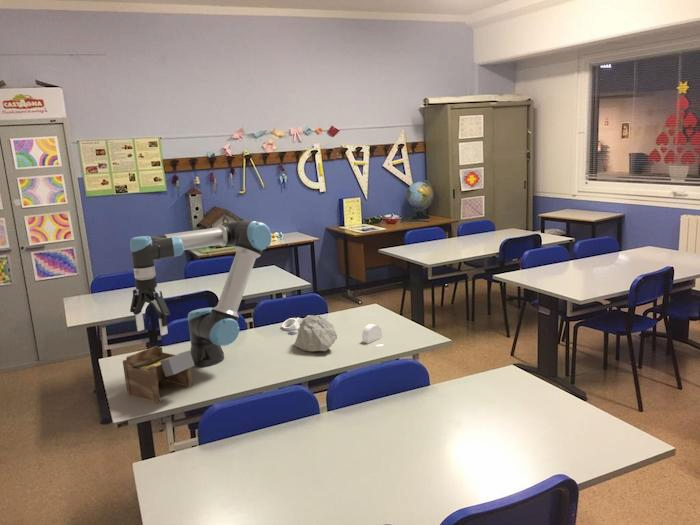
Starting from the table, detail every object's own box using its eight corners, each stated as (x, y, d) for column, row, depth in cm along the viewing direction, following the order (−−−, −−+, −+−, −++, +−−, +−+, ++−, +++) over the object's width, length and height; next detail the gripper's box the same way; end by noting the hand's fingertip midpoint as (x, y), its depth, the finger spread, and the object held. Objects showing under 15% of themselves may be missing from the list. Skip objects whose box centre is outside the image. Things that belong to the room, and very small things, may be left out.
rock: (291, 352, 284) (285, 347, 274) (284, 345, 286) (278, 339, 276) (306, 338, 285) (300, 332, 276) (298, 330, 287) (293, 324, 278)
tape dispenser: (366, 341, 274) (364, 319, 272) (394, 348, 261) (393, 325, 259) (352, 346, 268) (350, 324, 266) (380, 354, 255) (378, 331, 253)
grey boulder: (343, 349, 256) (341, 317, 253) (324, 358, 246) (322, 325, 243) (305, 342, 270) (303, 311, 267) (286, 350, 259) (283, 319, 256)
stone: (136, 370, 212) (134, 364, 212) (131, 370, 216) (129, 364, 216) (168, 358, 221) (167, 353, 220) (163, 359, 224) (161, 353, 224)
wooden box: (163, 379, 234) (159, 344, 231) (192, 386, 224) (188, 350, 222) (127, 395, 220) (122, 358, 217) (156, 403, 210) (151, 365, 208)
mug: (296, 344, 285) (288, 329, 281) (286, 341, 291) (278, 326, 287) (312, 329, 292) (305, 314, 287) (302, 326, 298) (294, 312, 294)
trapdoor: (165, 372, 229) (160, 358, 229) (197, 364, 217) (192, 349, 217) (138, 384, 218) (133, 369, 218) (170, 376, 206) (165, 360, 206)
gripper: (115, 277, 217) (123, 331, 221) (159, 282, 204) (166, 339, 208) (132, 273, 224) (139, 325, 227) (175, 277, 210) (182, 333, 214)
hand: (152, 332), depth 218 cm, fingers open, 13 cm apart
